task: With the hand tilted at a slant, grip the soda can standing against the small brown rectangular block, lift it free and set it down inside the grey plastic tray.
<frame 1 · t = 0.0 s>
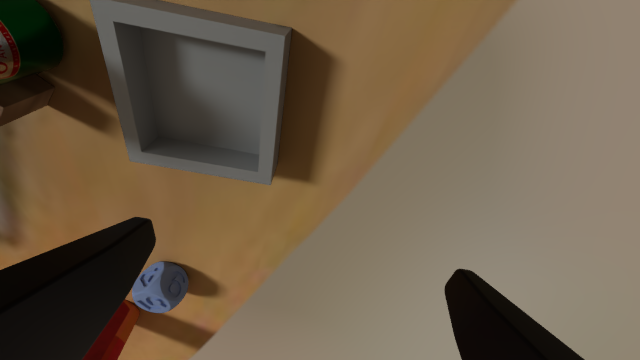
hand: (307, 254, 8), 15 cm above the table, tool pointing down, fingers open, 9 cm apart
soda can: (31, 27, 19), on the table
decorative dice: (170, 270, 34), on the table
tray: (212, 92, 21), on the table
brown rectangular block: (13, 71, 21), on the table
paper cup: (120, 306, 39), on the table
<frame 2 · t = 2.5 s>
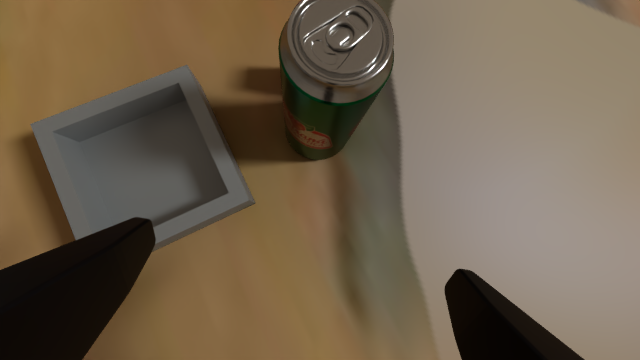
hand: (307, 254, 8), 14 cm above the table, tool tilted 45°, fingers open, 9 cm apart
soda can: (316, 131, 23), on the table
tray: (162, 171, 22), on the table
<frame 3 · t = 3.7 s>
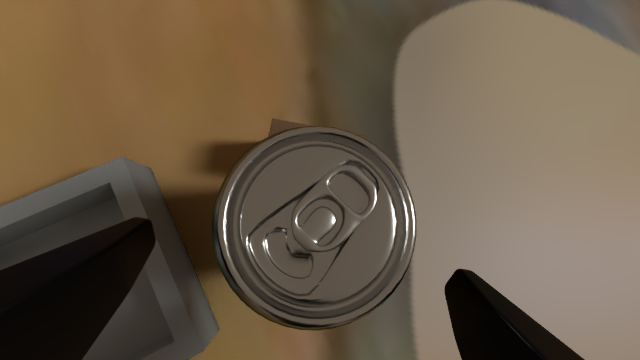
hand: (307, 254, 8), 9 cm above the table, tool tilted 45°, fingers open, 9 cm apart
soda can: (302, 225, 18), on the table
tray: (95, 288, 16), on the table
brown rectangular block: (312, 163, 19), on the table
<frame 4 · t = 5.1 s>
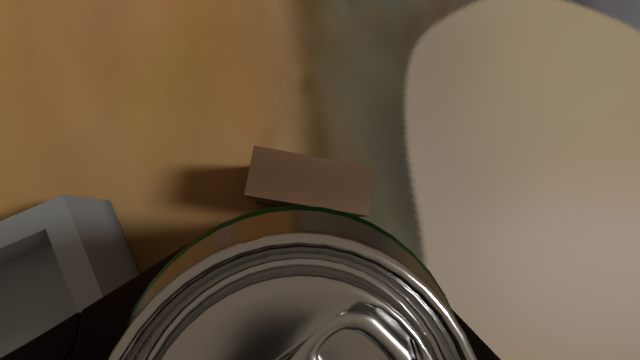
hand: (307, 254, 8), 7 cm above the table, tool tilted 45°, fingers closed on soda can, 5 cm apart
soda can: (294, 268, 15), on the table, touching gripper
tray: (38, 352, 13), on the table
brown rectangular block: (306, 191, 15), on the table
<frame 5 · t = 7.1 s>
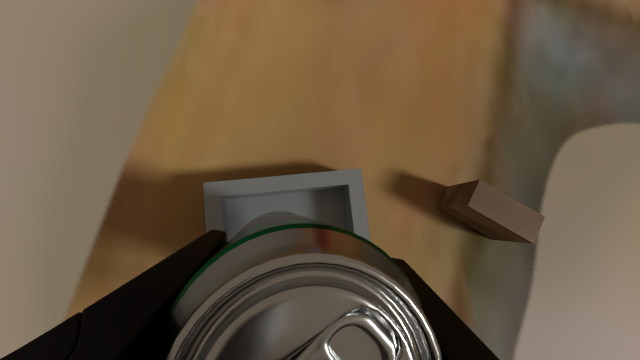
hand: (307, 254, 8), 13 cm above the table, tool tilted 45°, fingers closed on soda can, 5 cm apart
soda can: (278, 256, 16), point 5 cm above the table, touching gripper
tray: (292, 250, 21), on the table
brown rectangular block: (470, 212, 23), on the table
when the fingers open (9 cm above the table, at t = 8.3 s): soda can stays where it is, resting on tray.
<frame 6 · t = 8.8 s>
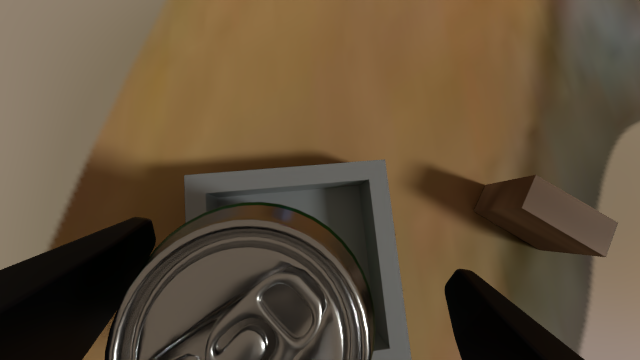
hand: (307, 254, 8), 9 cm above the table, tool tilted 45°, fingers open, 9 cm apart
soda can: (278, 259, 17), resting on tray
tray: (296, 262, 17), on the table
brown rectangular block: (512, 217, 19), on the table
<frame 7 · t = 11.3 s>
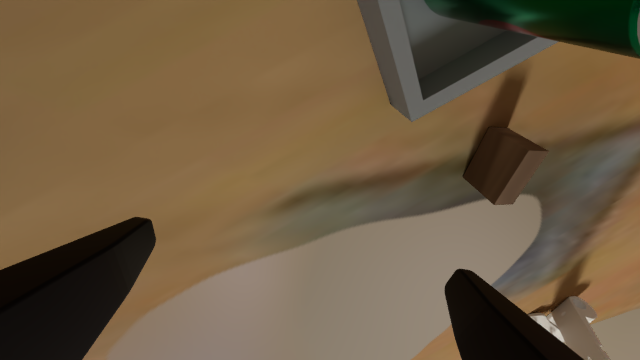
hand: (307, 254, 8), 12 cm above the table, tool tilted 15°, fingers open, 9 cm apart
plastic part: (547, 308, 53), on the table
brown rectangular block: (484, 153, 25), on the table
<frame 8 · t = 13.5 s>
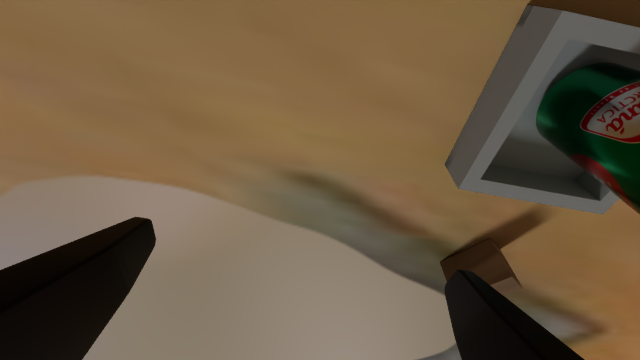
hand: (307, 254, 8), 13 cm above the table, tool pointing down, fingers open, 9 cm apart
soda can: (573, 101, 18), resting on tray
tray: (554, 112, 19), on the table
brown rectangular block: (469, 256, 27), on the table
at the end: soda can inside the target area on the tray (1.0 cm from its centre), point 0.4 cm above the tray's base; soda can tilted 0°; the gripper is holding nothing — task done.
